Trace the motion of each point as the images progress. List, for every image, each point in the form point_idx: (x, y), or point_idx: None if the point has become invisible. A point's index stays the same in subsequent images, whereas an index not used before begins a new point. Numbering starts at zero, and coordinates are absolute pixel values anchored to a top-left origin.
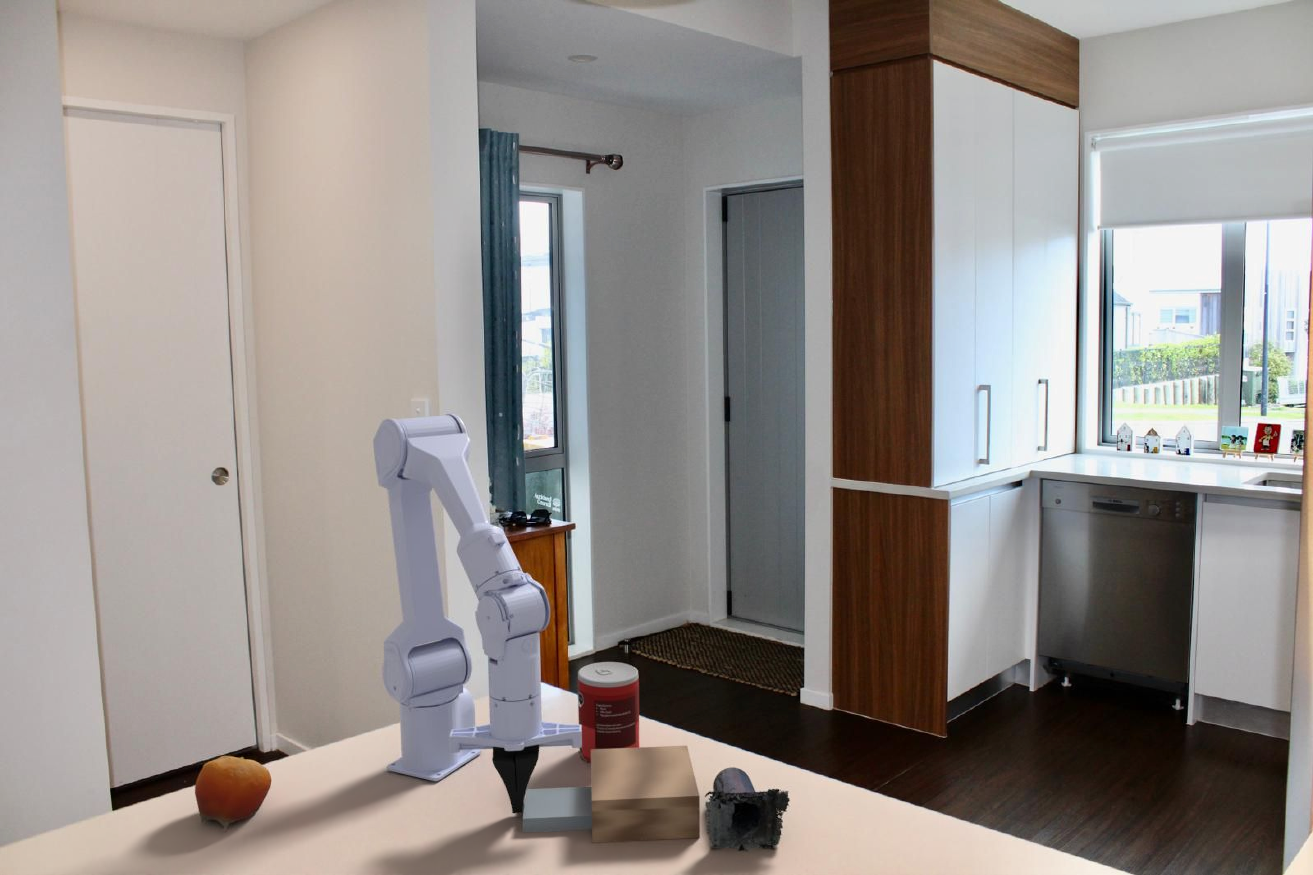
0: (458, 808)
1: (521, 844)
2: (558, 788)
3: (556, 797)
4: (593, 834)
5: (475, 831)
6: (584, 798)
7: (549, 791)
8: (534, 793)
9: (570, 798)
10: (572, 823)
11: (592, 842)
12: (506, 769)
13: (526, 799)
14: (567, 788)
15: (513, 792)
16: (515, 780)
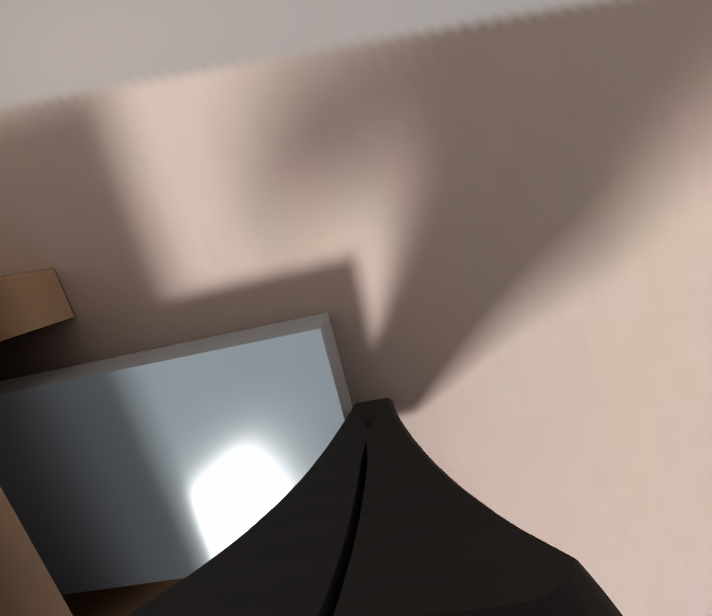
0: (617, 450)
1: (306, 223)
2: None
3: (242, 503)
4: (18, 274)
5: (513, 297)
6: (135, 504)
7: None
8: None
9: (185, 500)
10: (141, 357)
11: (52, 268)
12: (432, 549)
13: None
14: None
15: (381, 442)
16: (365, 493)
